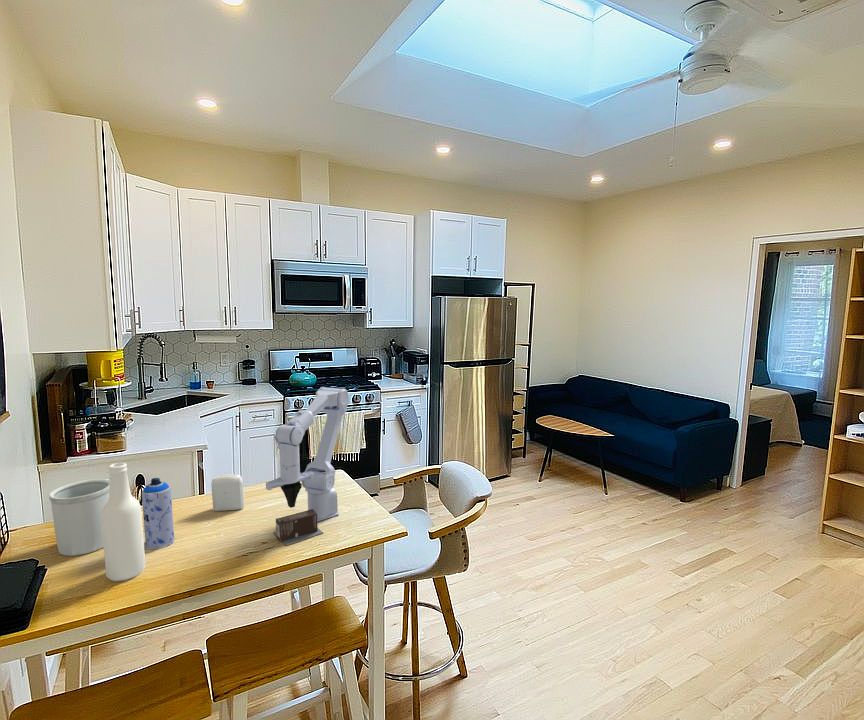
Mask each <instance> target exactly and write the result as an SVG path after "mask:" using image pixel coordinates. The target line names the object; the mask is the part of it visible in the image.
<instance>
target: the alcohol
mask: <svg viewBox="0 0 864 720" xmlns="http://www.w3.org/2000/svg"><path fill="white" fill-rule="evenodd" d="M127 466H128V464H127V463H126V462H114V463H112V464H110V465H109V466H108V467H107V468H108V474H109V476H108V477H109V479H108V480H109V500H108V502H107V503H106V504H105V506H104V507H103V509H102V513H101V522H102V533H103V545H104V547H103V552H104V553H103V554H104V564H105V565H104V566H105V576H106V578H108V580H110V581H112V582H124V581H127V580H132V579H133V578H136V577H137V576H139V575H140V574H141V573H142V572H143V571H144V570H145V567H146V556H145V553H146V551H145V541H144V540H145V538H144V525H143V512H142V506H141V504H140V502H139V500H138V499H137V498H135V497H134V496H133V495H132V494H131V493H132V492H131V487H130V482H129V477H128V476H129V475H128V467H127Z"/></svg>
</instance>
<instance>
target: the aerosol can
mask: <svg viewBox="0 0 864 720" xmlns="http://www.w3.org/2000/svg"><path fill="white" fill-rule="evenodd" d="M141 504H142V519H143V532H144V540H145V541H144V549H145V548H146V549H147V550H160V549H164V548H167V547H168V546H170V545H172V544H173V543H174V542H175V540H176V538H175V530H174V518H173V516H174V515H173V500H172V488H171V486H170V485H169V483H167V482H165V481H162V480H161V478H159V477H153V478H151V481H150V483H148V484H147V485H146V486H145V487H144V488H143V489H142V491H141Z"/></svg>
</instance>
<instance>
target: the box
mask: <svg viewBox="0 0 864 720" xmlns="http://www.w3.org/2000/svg"><path fill="white" fill-rule="evenodd" d="M318 526H319V525H318V522H317V513H316V512H315V511H314V510H313V509H311V510H308V509H307V510H305V511H301V512H296V513H293V514H288V515H285V516H281V517H278V518H275V532H276V535H275V536H276V538H277V540H279V542H282V541H285V540H288V539H292V538H295V537H299V536H302V535H305V534H309V533H312V532H316V531H318V528H319V527H318Z"/></svg>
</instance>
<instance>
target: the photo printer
mask: <svg viewBox="0 0 864 720" xmlns="http://www.w3.org/2000/svg"><path fill="white" fill-rule="evenodd" d="M244 496H245V494H244V481H243V477H242V475H239V474H233V473H226V474H219V475H217V476H214V477H212V479H211V498H212V499H211V500H212V509H213V511H214V512H221V511H235V510H236V511H237V510H242V509H244V508H245V499H244Z"/></svg>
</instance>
